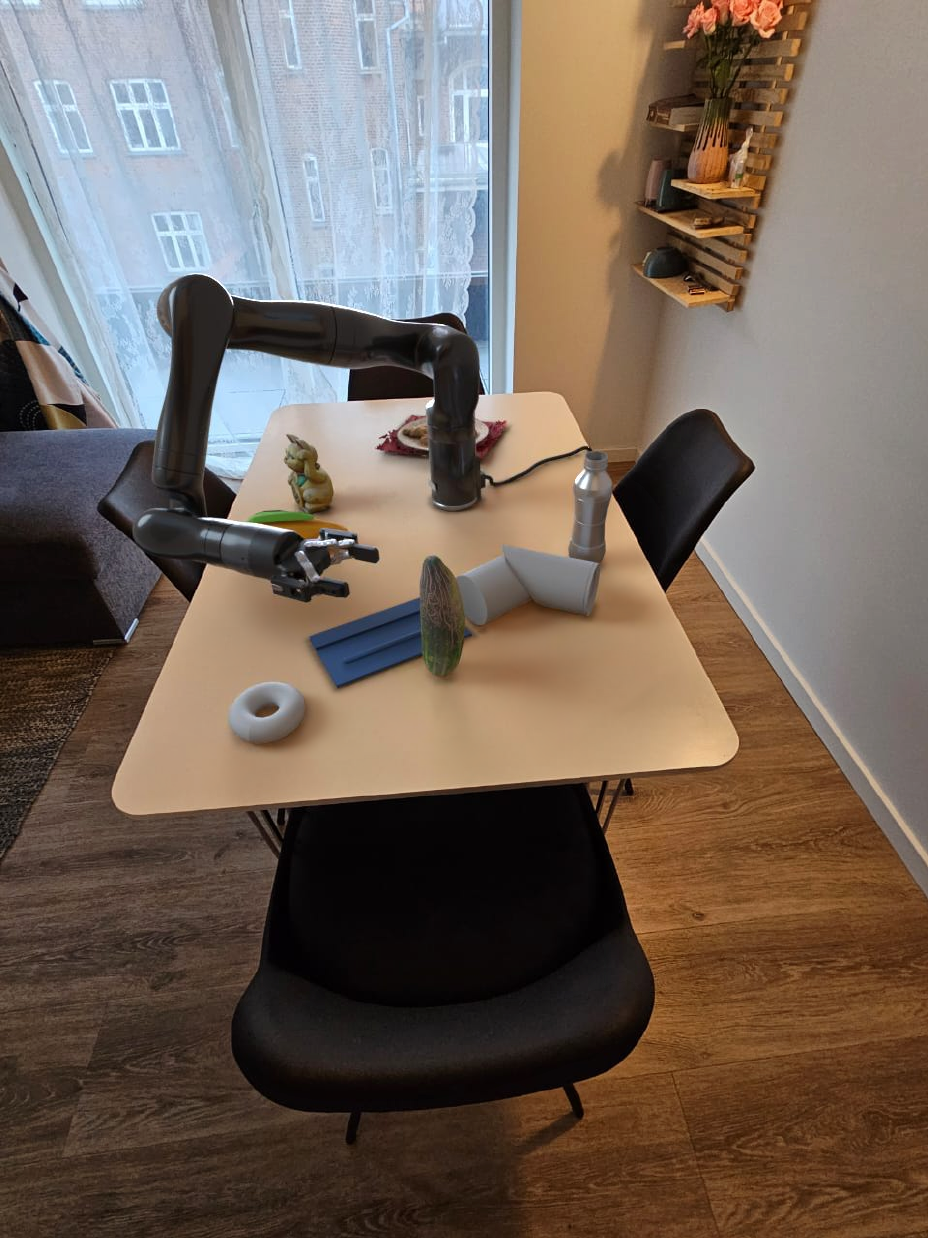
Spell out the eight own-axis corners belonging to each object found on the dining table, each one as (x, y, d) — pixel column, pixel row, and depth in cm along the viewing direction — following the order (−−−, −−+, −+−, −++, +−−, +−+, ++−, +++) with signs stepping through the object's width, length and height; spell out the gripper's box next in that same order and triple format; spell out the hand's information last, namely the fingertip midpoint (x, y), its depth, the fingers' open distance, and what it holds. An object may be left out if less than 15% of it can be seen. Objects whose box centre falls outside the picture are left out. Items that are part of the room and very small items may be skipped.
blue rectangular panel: (436, 595, 108) (436, 590, 107) (471, 635, 100) (471, 630, 99) (310, 640, 100) (308, 635, 100) (337, 688, 92) (335, 682, 91)
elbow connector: (538, 552, 115) (447, 596, 106) (549, 505, 107) (452, 549, 98) (608, 616, 106) (516, 670, 97) (627, 571, 98) (528, 625, 89)
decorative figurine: (287, 503, 135) (270, 433, 125) (321, 489, 139) (308, 421, 129) (310, 520, 129) (295, 449, 120) (345, 505, 133) (334, 435, 124)
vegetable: (439, 652, 97) (430, 538, 85) (475, 665, 95) (472, 550, 82) (417, 677, 93) (404, 561, 81) (454, 692, 91) (447, 575, 78)
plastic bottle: (607, 554, 116) (620, 449, 103) (600, 575, 111) (613, 467, 98) (571, 548, 118) (580, 444, 105) (563, 569, 113) (571, 462, 100)
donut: (310, 691, 92) (239, 696, 91) (306, 673, 90) (233, 678, 89) (303, 746, 84) (224, 752, 84) (298, 728, 82) (218, 734, 81)
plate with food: (481, 467, 145) (481, 452, 143) (375, 453, 151) (373, 439, 149) (507, 426, 162) (508, 413, 160) (411, 415, 169) (411, 402, 166)
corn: (243, 501, 120) (349, 501, 118) (254, 534, 125) (356, 535, 124) (230, 524, 114) (341, 524, 113) (242, 558, 120) (348, 559, 118)
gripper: (224, 555, 85) (332, 578, 80) (285, 504, 95) (384, 522, 90) (238, 601, 90) (341, 625, 85) (295, 548, 100) (389, 567, 95)
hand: (363, 572), depth 88 cm, fingers open, 8 cm apart
